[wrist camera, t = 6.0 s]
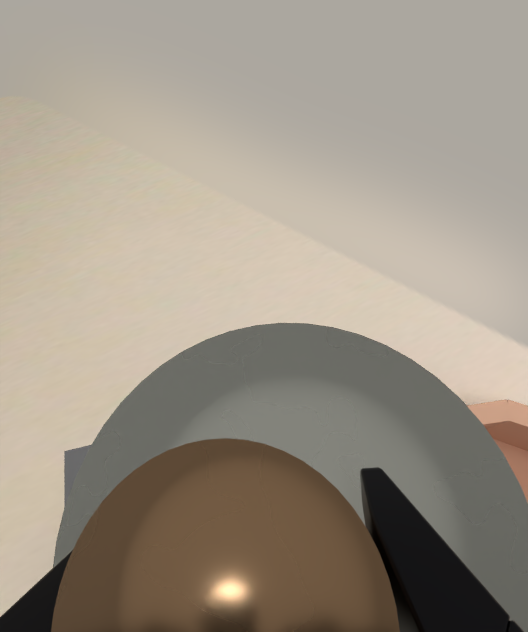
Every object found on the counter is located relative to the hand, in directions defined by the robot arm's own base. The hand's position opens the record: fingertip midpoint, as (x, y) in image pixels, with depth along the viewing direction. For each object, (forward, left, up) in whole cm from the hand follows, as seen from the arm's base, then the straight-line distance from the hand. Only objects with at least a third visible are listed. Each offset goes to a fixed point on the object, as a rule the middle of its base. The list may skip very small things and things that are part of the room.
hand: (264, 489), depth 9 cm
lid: (-1, +1, -3) cm, 3 cm away
